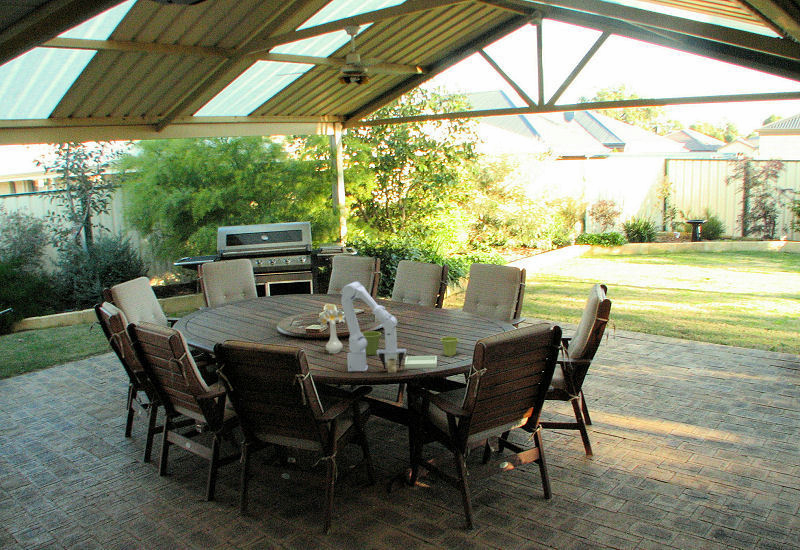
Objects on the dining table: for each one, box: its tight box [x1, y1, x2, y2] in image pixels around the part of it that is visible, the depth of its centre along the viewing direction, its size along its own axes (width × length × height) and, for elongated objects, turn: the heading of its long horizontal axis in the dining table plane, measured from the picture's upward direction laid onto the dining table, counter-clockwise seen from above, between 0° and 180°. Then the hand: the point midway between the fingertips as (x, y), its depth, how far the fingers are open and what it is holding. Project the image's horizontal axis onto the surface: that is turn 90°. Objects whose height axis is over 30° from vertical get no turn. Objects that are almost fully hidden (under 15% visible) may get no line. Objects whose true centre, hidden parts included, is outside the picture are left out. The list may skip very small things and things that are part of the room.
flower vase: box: [316, 306, 346, 355], centre depth 348 cm, size 13×18×25 cm
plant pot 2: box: [440, 336, 459, 357], centre depth 335 cm, size 9×9×9 cm
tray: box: [404, 355, 438, 370], centre depth 319 cm, size 16×14×2 cm
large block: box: [385, 354, 398, 364], centre depth 327 cm, size 6×6×6 cm
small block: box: [387, 358, 398, 374], centre depth 310 cm, size 4×4×6 cm
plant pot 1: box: [362, 331, 382, 356], centre depth 343 cm, size 12×12×11 cm
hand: (392, 368), depth 310 cm, fingers open, 7 cm apart
